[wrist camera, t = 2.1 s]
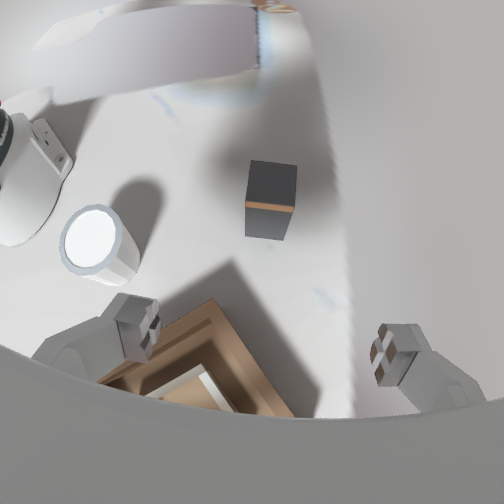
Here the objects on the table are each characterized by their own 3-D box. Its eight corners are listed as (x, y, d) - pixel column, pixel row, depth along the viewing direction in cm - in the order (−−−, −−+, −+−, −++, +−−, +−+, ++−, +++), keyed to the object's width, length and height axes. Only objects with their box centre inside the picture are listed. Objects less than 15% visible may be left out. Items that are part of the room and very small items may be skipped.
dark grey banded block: (244, 236, 32) (245, 200, 24) (249, 202, 33) (251, 160, 25) (283, 240, 32) (294, 206, 24) (285, 206, 33) (297, 165, 25)
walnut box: (93, 381, 26) (69, 384, 22) (218, 306, 29) (213, 297, 25) (177, 503, 22) (167, 524, 18) (308, 435, 25) (319, 450, 21)
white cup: (87, 241, 31) (57, 216, 24) (140, 224, 32) (118, 193, 25) (95, 298, 29) (61, 284, 22) (151, 282, 30) (127, 263, 23)
